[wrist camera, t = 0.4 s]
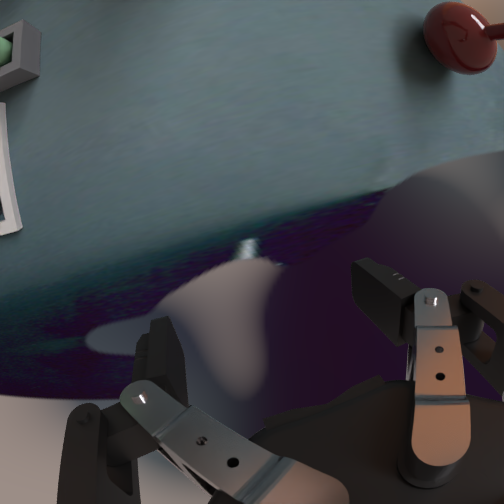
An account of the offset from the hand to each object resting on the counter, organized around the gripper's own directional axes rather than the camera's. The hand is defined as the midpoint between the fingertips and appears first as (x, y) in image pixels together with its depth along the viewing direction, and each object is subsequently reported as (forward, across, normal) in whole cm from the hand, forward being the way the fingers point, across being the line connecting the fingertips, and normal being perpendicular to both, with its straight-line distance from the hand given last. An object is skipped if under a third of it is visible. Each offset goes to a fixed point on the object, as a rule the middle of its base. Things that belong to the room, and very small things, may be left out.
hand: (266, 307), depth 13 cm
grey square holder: (+28, +22, -26) cm, 44 cm away
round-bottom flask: (+29, -43, -19) cm, 55 cm away
